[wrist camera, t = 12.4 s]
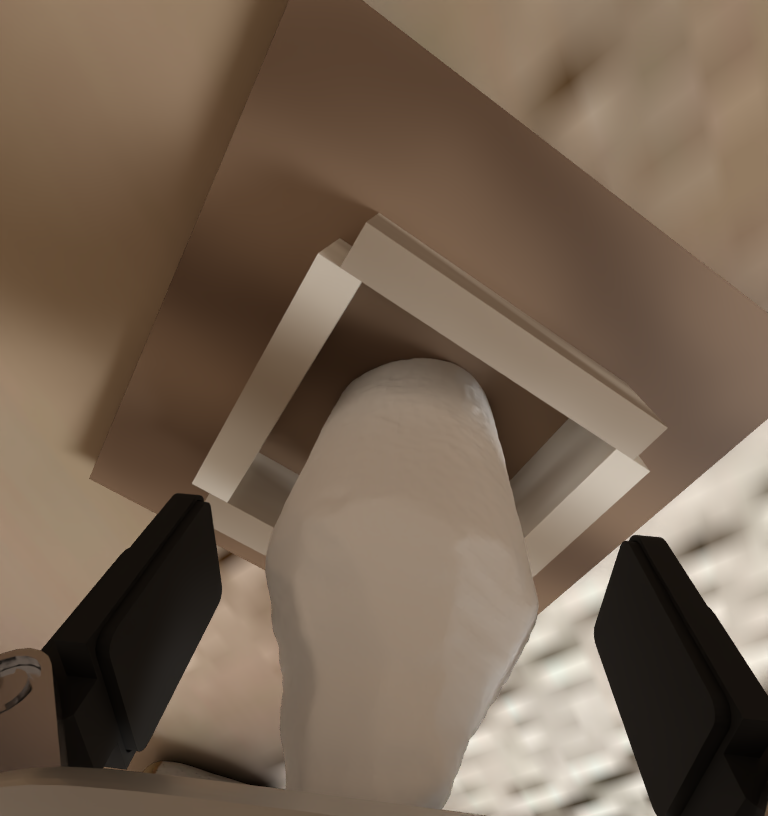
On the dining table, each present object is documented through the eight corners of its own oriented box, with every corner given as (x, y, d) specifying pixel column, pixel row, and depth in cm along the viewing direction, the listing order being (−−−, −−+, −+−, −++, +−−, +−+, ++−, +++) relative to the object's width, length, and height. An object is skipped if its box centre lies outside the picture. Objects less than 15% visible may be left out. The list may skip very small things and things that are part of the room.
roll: (383, 1023, 8) (57, 882, 6) (412, 526, 18) (292, 438, 17) (731, 924, 5) (321, 673, 4) (531, 421, 16) (402, 312, 15)
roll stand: (465, 655, 23) (472, 745, 19) (104, 464, 20) (32, 529, 16) (808, 351, 15) (925, 406, 12) (315, -27, 12) (268, -110, 9)
